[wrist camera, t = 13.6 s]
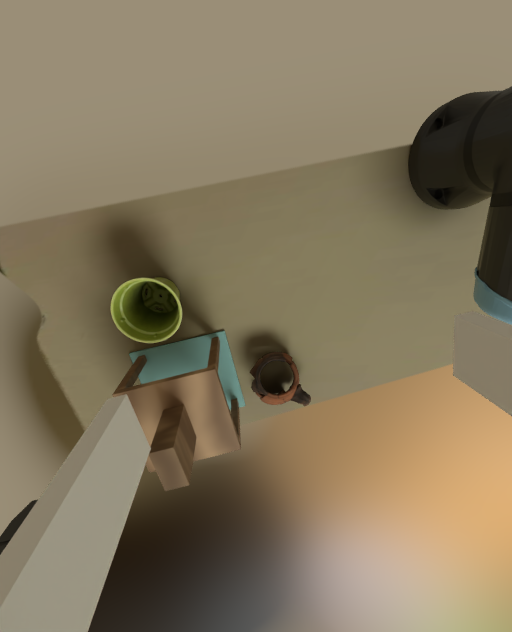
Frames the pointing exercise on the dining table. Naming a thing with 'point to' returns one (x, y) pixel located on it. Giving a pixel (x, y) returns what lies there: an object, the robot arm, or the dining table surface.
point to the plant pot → (147, 309)
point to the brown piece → (183, 418)
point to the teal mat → (191, 362)
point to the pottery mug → (292, 394)
